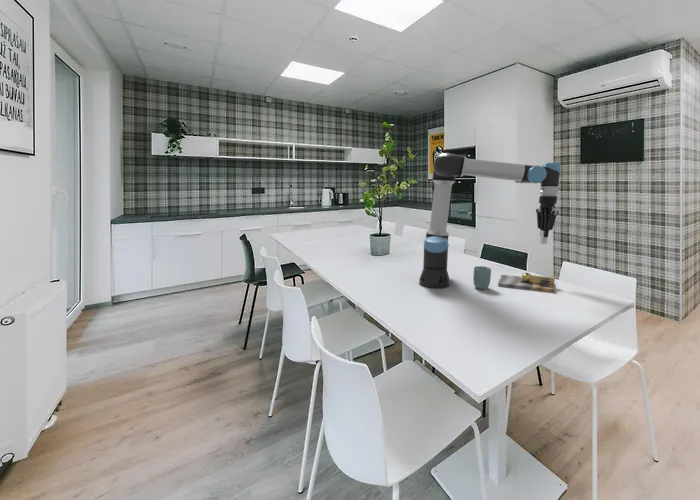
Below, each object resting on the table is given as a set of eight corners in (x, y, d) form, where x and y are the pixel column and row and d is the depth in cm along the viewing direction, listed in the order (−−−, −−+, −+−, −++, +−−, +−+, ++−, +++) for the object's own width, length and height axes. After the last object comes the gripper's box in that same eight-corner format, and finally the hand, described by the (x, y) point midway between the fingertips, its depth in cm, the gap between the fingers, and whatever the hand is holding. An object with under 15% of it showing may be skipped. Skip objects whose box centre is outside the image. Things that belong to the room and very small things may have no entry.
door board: (498, 286, 171) (498, 277, 171) (501, 277, 187) (502, 269, 186) (554, 292, 160) (555, 283, 160) (552, 283, 176) (553, 274, 175)
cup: (491, 291, 164) (492, 270, 162) (473, 290, 166) (475, 269, 164) (488, 286, 172) (489, 266, 170) (471, 285, 173) (472, 265, 171)
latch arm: (521, 281, 172) (522, 273, 171) (521, 279, 175) (522, 271, 174) (554, 285, 165) (555, 276, 165) (553, 283, 169) (554, 274, 168)
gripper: (532, 195, 174) (527, 241, 178) (551, 196, 161) (545, 246, 166) (546, 194, 175) (541, 241, 180) (565, 195, 162) (559, 245, 167)
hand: (543, 243), depth 173 cm, fingers closed
